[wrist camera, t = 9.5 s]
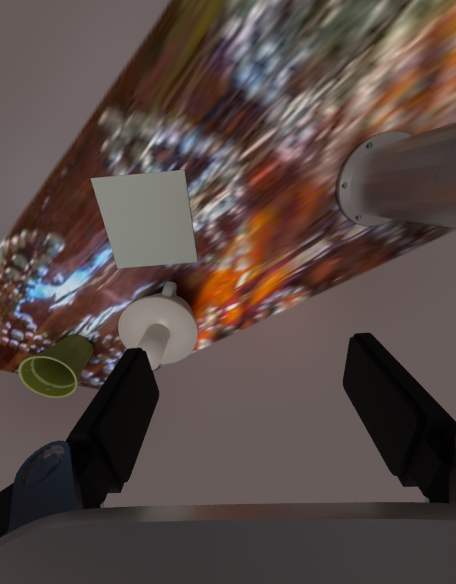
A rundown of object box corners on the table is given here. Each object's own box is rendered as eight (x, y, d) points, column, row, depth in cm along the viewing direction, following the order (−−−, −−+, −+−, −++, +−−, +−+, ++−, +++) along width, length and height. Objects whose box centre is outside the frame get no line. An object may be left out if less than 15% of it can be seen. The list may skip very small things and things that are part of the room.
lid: (192, 292, 32) (183, 316, 25) (202, 357, 37) (198, 391, 30) (111, 298, 32) (83, 324, 26) (132, 362, 37) (113, 397, 31)
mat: (184, 170, 32) (184, 169, 32) (197, 261, 38) (197, 261, 38) (92, 178, 33) (90, 178, 32) (118, 267, 38) (117, 268, 38)
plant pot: (52, 323, 43) (13, 352, 35) (102, 331, 44) (74, 361, 36) (57, 360, 47) (23, 393, 39) (102, 366, 48) (78, 401, 40)
